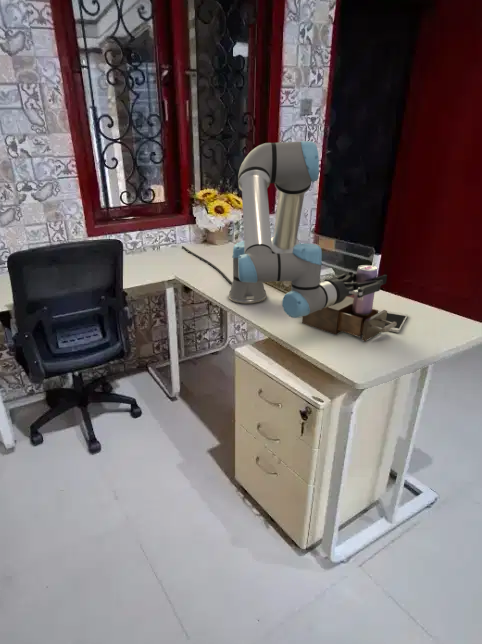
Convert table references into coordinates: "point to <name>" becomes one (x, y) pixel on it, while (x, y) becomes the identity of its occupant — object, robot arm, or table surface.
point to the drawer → (364, 323)
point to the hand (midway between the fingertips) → (375, 276)
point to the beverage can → (366, 302)
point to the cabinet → (328, 316)
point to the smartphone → (396, 320)
